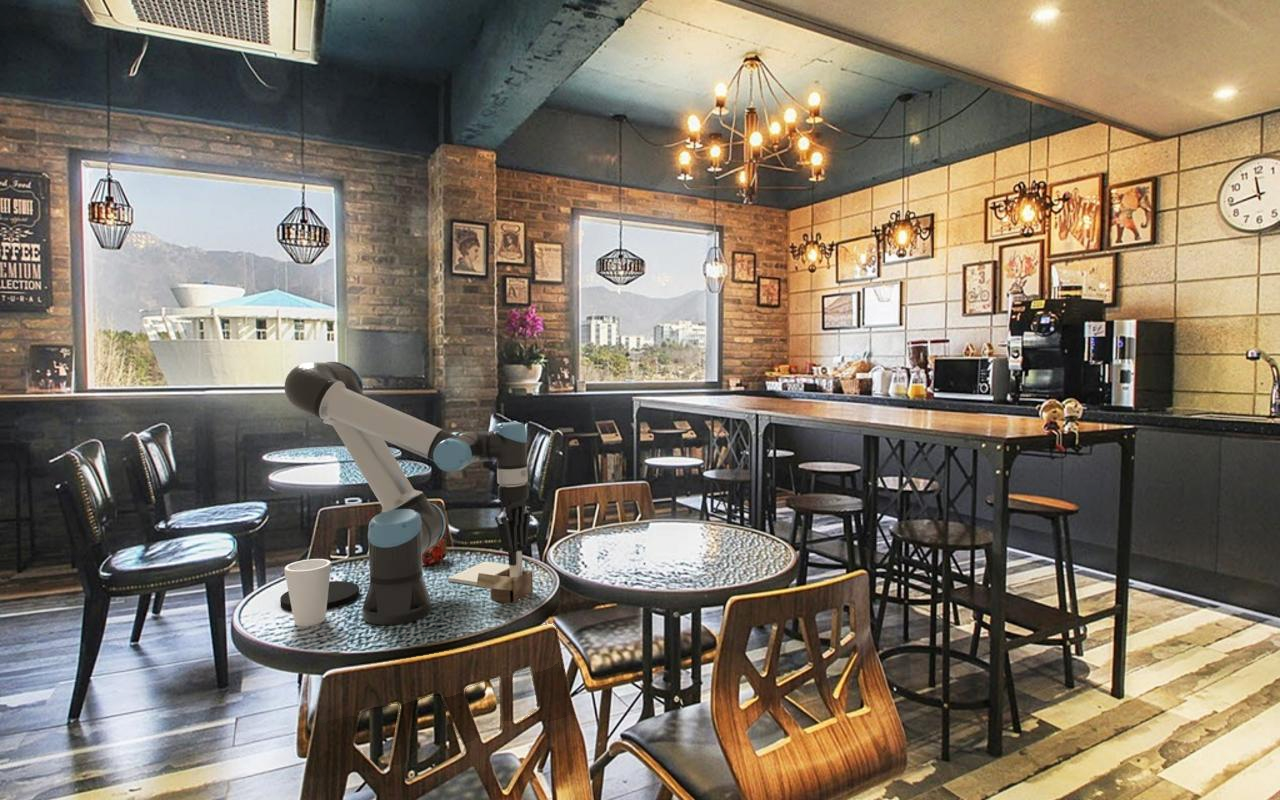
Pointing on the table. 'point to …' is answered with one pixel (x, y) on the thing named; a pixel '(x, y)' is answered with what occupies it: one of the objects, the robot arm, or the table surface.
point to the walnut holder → (514, 587)
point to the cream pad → (477, 572)
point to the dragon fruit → (435, 553)
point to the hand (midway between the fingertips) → (516, 576)
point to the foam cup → (308, 590)
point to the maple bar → (495, 581)
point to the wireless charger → (331, 595)
